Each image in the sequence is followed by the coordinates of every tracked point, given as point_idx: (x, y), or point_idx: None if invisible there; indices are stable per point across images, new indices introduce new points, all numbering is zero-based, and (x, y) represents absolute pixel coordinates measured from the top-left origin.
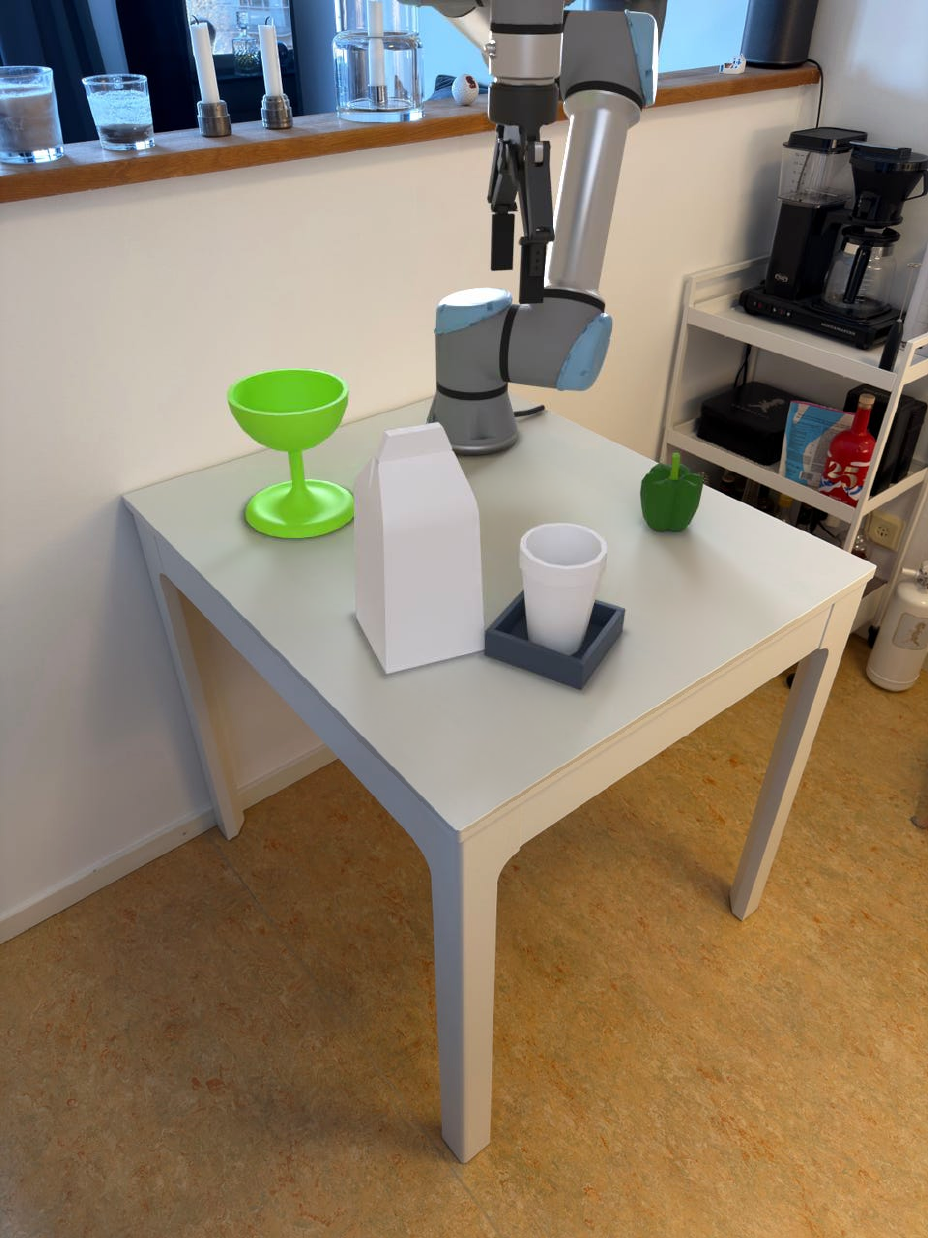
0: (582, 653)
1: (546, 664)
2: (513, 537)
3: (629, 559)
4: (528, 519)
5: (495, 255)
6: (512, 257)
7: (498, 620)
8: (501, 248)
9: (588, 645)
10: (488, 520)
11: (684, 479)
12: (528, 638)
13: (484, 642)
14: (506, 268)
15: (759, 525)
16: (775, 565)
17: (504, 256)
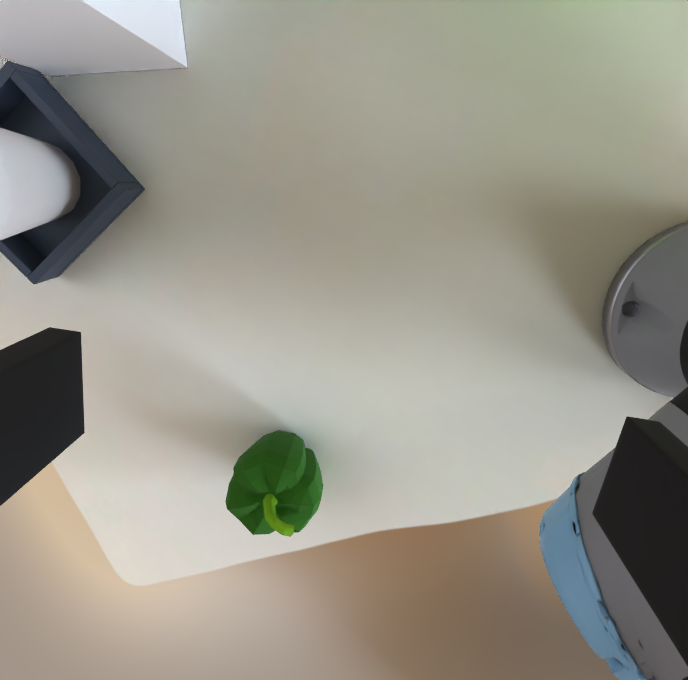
0: None
1: None
2: (320, 236)
3: (215, 367)
4: (363, 281)
5: (662, 476)
6: (619, 552)
7: (29, 92)
8: (673, 534)
9: None
10: (383, 218)
11: (257, 510)
12: (38, 139)
13: (43, 72)
14: (606, 489)
15: (246, 552)
16: (158, 516)
17: (638, 518)
